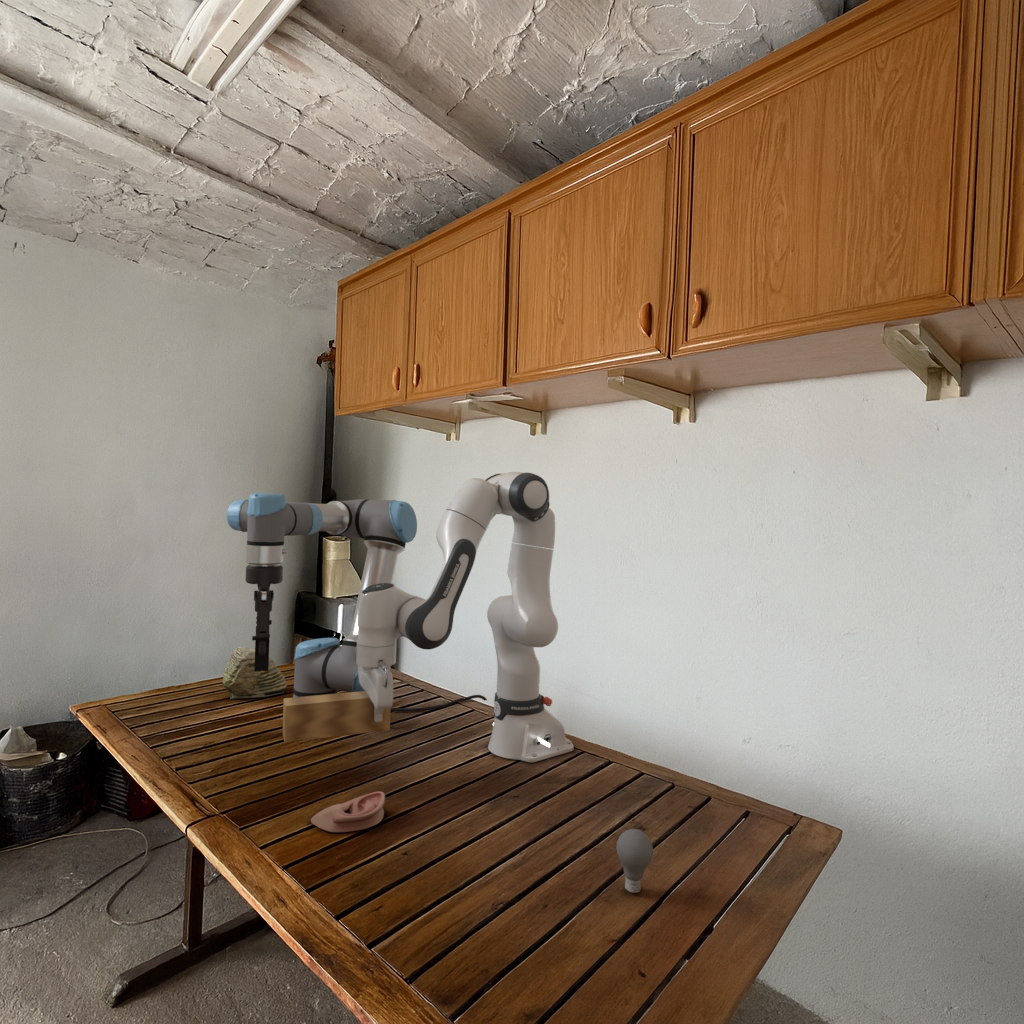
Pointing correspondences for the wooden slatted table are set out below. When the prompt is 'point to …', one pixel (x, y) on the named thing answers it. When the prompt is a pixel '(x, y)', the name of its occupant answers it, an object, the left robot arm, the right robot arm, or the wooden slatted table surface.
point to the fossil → (251, 676)
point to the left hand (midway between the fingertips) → (261, 662)
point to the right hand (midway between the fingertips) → (374, 715)
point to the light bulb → (634, 857)
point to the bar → (330, 716)
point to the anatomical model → (352, 814)
